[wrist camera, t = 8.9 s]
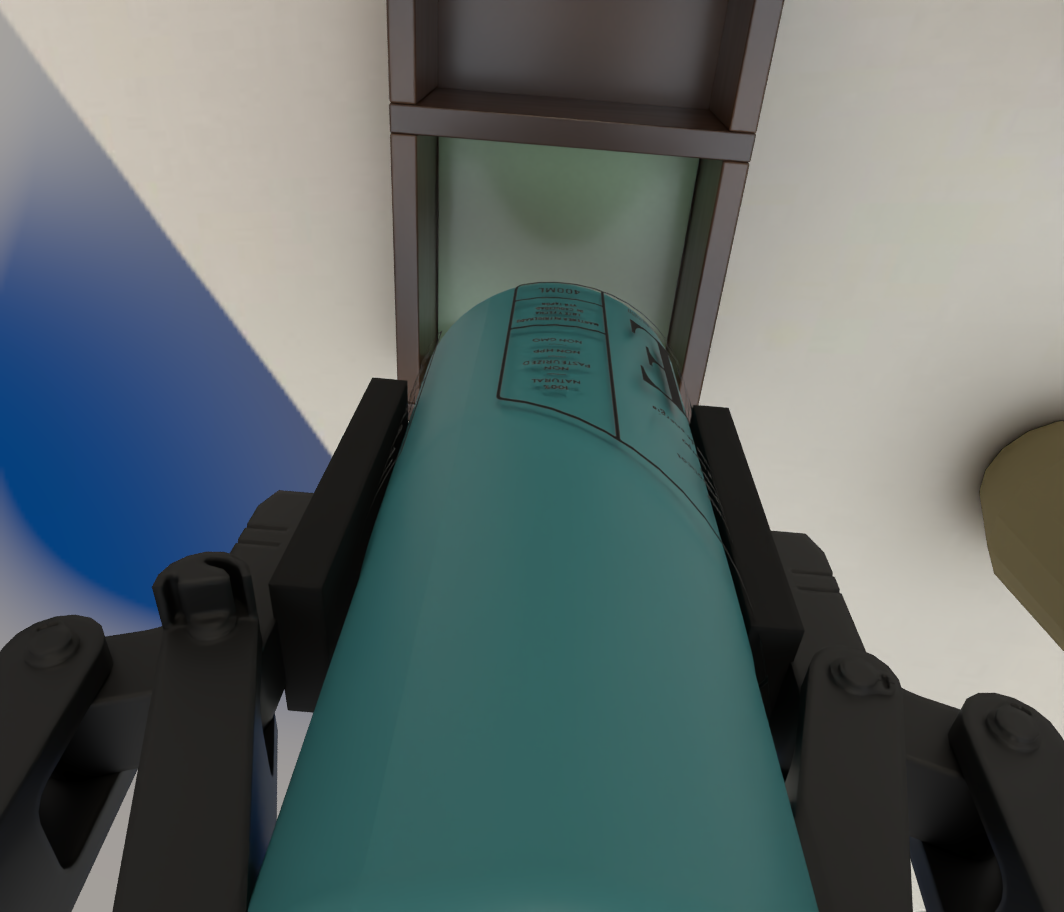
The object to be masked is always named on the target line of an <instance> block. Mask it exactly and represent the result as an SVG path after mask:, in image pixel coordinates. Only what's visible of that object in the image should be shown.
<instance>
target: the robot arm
mask: <svg viewBox="0 0 1064 912" xmlns="http://www.w3.org/2000/svg"><path fill="white" fill-rule="evenodd" d="M407 403H408V385H407V381H406V380H394V379H382V378H372V379H371V381H370V383H369V385H368V387H367V389H366V391H365V393H364V395H363V397H362V399H361V401H360V403H359V405H358V407H357V409H356V411H355V413H354V415H353V417H352V419H351V421H350V423H349V425H348V427H347V429H346V431H345V433H344V435H343V437H342V439H341V441H340V443H339V445H338V447H337V449H336V451H335V453H334V455H333V457H332V459H331V461H330V463H329V465H328V467H327V469H326V471H325V472H324V474H323V476H322V478H321V480H320V482H319V484H318V486H317V488H316V490H315V492H314V493H304V492H294V491H282V490H279V491H277V492H276V493H275V494H273V495H272V496H270V497H269V498H268V499H266V500H265V501H264V502H263V503H261V504H260V505H259V506H258V507H257V508H256V510H255V512H254V514H253V515H252V517H251V518H250V520H249V522H248V524H247V528H245V529H244V530H243V532H242V534H241V535H240V537H239V539H238V543H236V544H235V545H234V547H233V549H232V551H231V552H230V554H229V553H226V552H203V553H198V554H194V555H190V556H186V557H185V558H182V559H180V560H178V561H176V562H174V563H172V564H170V565H169V566H168V567H167V568H166V569H164V570H163V571H162V572H161V573H160V574H159V575H158V577H157V578H156V580H155V582H154V584H153V586H152V589H153V592H154V596H155V600H156V604H157V607H158V611H159V615H160V619H161V622H162V626H161V627H158V628H154V629H150V630H145V631H139V632H133V633H126V634H120V635H113V636H107V637H105V636H104V632H103V629H102V626H101V625H100V624H99V623H97V622H96V621H95V620H93V619H92V618H89V617H84V616H79V615H67V616H57V617H53V618H50V619H47V620H44V621H41V622H37V623H35V624H33V625H32V626H30V627H28V628H26V629H24V630H23V631H21V632H19V633H18V634H16V635H15V636H14V637H13V639H11V640H10V641H9V642H8V643H7V644H6V645H5V646H4V647H3V648H2V650H1V651H0V912H71V911H72V909H73V907H74V905H75V903H76V901H77V898H78V896H79V894H80V892H81V890H82V888H83V886H84V883H85V881H86V879H87V877H88V875H89V873H90V871H91V868H92V866H93V864H94V862H95V860H96V858H97V855H98V853H99V851H100V849H101V847H102V845H103V843H104V840H105V838H106V836H107V834H108V832H109V830H110V827H111V825H112V823H113V821H114V819H115V817H116V815H117V813H118V810H119V808H120V806H121V804H122V802H123V799H124V797H125V795H126V793H127V791H128V789H129V787H130V785H131V782H132V780H133V778H134V776H135V774H136V772H137V770H138V773H137V778H136V784H135V789H134V795H133V800H132V806H131V812H130V817H129V823H128V828H127V834H126V839H125V845H124V850H123V856H122V861H121V867H120V873H119V878H118V884H117V890H116V895H115V900H114V906H113V912H247V911H248V907H249V903H250V899H251V895H252V892H253V889H254V886H255V883H256V880H257V877H258V874H259V871H260V868H261V865H262V862H263V860H264V857H265V854H266V851H267V848H268V845H269V842H270V839H271V836H272V833H273V830H274V827H275V824H276V821H277V743H278V742H277V741H278V740H277V739H278V730H277V724H276V718H275V711H276V708H277V706H278V703H279V701H280V698H281V696H282V693H283V691H284V689H285V695H286V702H287V708H288V710H291V711H302V712H313V713H314V710H315V707H316V704H317V701H318V698H319V695H320V692H321V689H322V686H323V683H324V680H325V678H326V675H327V672H328V669H329V666H330V663H331V660H332V657H333V654H334V651H335V648H336V645H337V642H338V639H339V636H340V633H341V631H342V628H343V625H344V622H345V619H346V616H347V613H348V610H349V607H350V604H351V601H352V598H353V595H354V592H355V589H356V587H357V584H358V581H359V577H360V572H361V568H362V564H363V561H364V557H365V554H366V550H367V547H368V543H369V540H370V537H371V534H372V531H373V527H374V524H375V521H376V518H377V515H378V512H379V509H380V506H381V503H382V501H383V498H384V495H385V492H386V489H387V486H388V483H389V480H390V477H391V474H392V471H393V468H394V465H395V463H394V462H396V461H395V460H396V459H397V456H398V453H399V450H400V447H401V444H402V441H403V438H404V435H405V432H406V429H407V426H408V409H407V408H408V404H407ZM406 406H407V407H406ZM405 408H406V409H407V410H406V409H405ZM404 411H405V412H404ZM404 413H406V414H404ZM403 414H404V415H405V416H404V415H403ZM403 416H404V418H403ZM401 419H402V422H401ZM690 422H691V423H689V427H690V430H691V434H692V438H693V441H694V443H695V448H696V452H697V455H698V457H699V458H698V459H699V462H700V466H701V469H702V472H704V473H705V474H704V473H703V477H704V480H705V481H706V482H707V483H705V484H708V486H707V485H706V487H707V491H708V494H709V496H710V498H711V500H713V501H711V500H710V501H711V505H712V509H713V512H714V516H715V519H716V523H717V526H718V530H719V533H720V537H721V541H722V543H723V544H724V546H725V548H726V550H727V551H726V550H725V548H724V546H723V548H724V551H725V555H726V558H727V562H728V565H729V569H730V572H731V576H732V580H733V583H734V587H735V590H736V594H737V598H738V602H739V605H740V609H741V613H742V616H743V620H744V624H745V628H746V632H747V636H748V640H749V643H750V647H751V651H752V656H753V661H754V667H755V674H756V678H757V682H758V684H760V683H761V682H762V681H763V680H764V679H765V671H766V677H767V676H768V683H769V690H768V683H766V684H765V685H764V686H763V687H762V688H760V689H759V690H760V693H761V697H762V701H763V705H764V708H765V712H766V716H767V720H768V723H769V692H770V731H771V734H772V738H773V742H774V746H775V749H776V753H777V757H778V761H779V764H780V768H781V772H782V776H783V779H784V783H785V787H786V791H787V794H788V798H789V802H790V806H791V809H792V813H793V817H794V821H795V824H796V828H797V832H798V835H799V839H800V843H801V847H802V850H803V854H804V858H805V862H806V865H807V869H808V873H809V877H810V880H811V884H812V888H813V892H814V895H815V899H816V903H817V907H818V910H819V912H913V906H912V884H911V862H912V865H913V869H914V872H915V875H916V879H917V882H918V885H919V889H920V892H921V895H922V899H923V902H924V905H925V909H926V912H1064V740H1063V738H1062V737H1061V735H1060V734H1059V733H1058V731H1057V730H1056V729H1055V727H1054V726H1053V725H1052V724H1051V722H1050V721H1049V720H1047V719H1046V718H1045V717H1044V716H1042V715H1041V714H1040V713H1039V712H1037V711H1036V710H1035V709H1034V708H1032V707H1030V706H1028V705H1026V704H1024V703H1022V702H1020V701H1019V700H1017V699H1015V698H1012V697H1008V696H1004V695H1001V694H997V693H977V694H975V695H973V696H971V697H969V698H967V699H966V701H965V703H964V704H963V706H962V708H961V710H960V709H957V708H954V707H951V706H948V705H945V704H942V703H939V702H936V701H933V700H930V699H927V698H924V697H921V696H919V695H916V694H914V693H911V692H909V691H907V690H905V689H903V688H901V685H900V682H899V679H898V678H897V677H896V675H895V674H894V673H893V672H892V670H891V669H890V668H889V666H887V665H886V664H885V663H883V662H882V661H880V660H879V659H878V658H876V657H875V656H874V655H872V654H869V653H867V652H866V651H865V648H864V646H863V643H862V641H861V639H860V636H859V634H858V632H857V629H856V627H855V624H854V622H853V620H852V617H851V615H850V613H849V610H848V608H847V606H846V603H845V601H844V598H843V596H842V594H841V593H839V590H840V589H839V587H838V584H837V582H836V579H835V577H833V576H832V574H833V572H832V570H831V568H830V565H829V563H828V560H827V558H826V556H825V553H824V552H823V551H822V550H821V549H820V548H819V547H818V546H817V545H816V544H815V543H814V542H813V541H812V540H811V539H810V538H809V537H808V536H807V535H806V534H803V533H791V532H780V531H771V530H770V527H769V525H768V522H767V519H766V516H765V513H764V510H763V507H762V504H761V501H760V498H759V495H758V492H757V489H756V487H755V484H754V481H753V478H752V475H751V472H750V469H749V466H748V463H747V460H746V457H745V454H744V452H743V449H742V446H741V443H740V440H739V437H738V434H737V431H736V428H735V425H734V422H733V419H732V417H731V414H730V411H729V408H723V407H712V406H700V405H693V409H692V414H691V419H690ZM401 425H402V426H403V427H402V426H401ZM399 426H400V427H401V428H402V429H401V428H400V427H399ZM398 428H399V429H400V430H399V429H398ZM398 430H399V431H398ZM397 431H398V433H399V434H398V433H397ZM396 434H398V436H397V438H396V439H395V437H396ZM697 447H698V448H697ZM394 448H395V450H394ZM392 449H393V450H394V452H393V450H392ZM698 449H699V451H700V452H699V451H698ZM391 450H392V451H391ZM390 451H391V453H390ZM389 453H390V455H391V454H392V455H391V457H390V458H389ZM701 454H702V455H701ZM702 456H703V457H704V458H703V457H702ZM388 459H389V460H388ZM700 459H701V460H700ZM387 460H388V462H387ZM391 460H392V461H391ZM704 460H706V461H704ZM701 461H702V462H701ZM386 462H387V463H386ZM706 462H707V463H706ZM389 463H390V464H389ZM393 463H394V464H393ZM702 463H703V464H702ZM388 465H389V466H388ZM392 465H393V466H392ZM385 466H386V467H385ZM391 466H392V467H391ZM708 466H709V467H708ZM384 467H385V468H384ZM386 468H387V469H386ZM390 468H391V469H390ZM705 468H706V469H705ZM389 469H390V470H389ZM709 469H710V470H709ZM383 471H384V472H383ZM388 471H389V472H388ZM708 472H709V473H710V474H708ZM387 473H388V474H387ZM382 474H384V475H382ZM386 475H387V476H386ZM705 475H706V477H707V478H708V479H707V478H706V477H705ZM709 475H711V477H709ZM381 476H382V477H381ZM712 476H713V477H712ZM385 477H386V478H385ZM384 478H385V479H384ZM711 478H712V479H711ZM380 480H381V481H380ZM383 480H384V481H383ZM708 480H709V482H708ZM382 482H383V483H382ZM713 482H714V483H713ZM379 483H380V485H379ZM710 483H711V484H712V485H711V484H710ZM381 484H382V485H381ZM714 485H715V486H714ZM380 486H381V487H380ZM712 486H713V487H714V489H713V488H712ZM377 487H378V488H377ZM708 487H710V488H711V489H710V488H708ZM379 488H380V489H379ZM378 490H379V491H378ZM709 490H710V491H709ZM711 490H712V492H711ZM714 490H715V491H716V492H715V491H714ZM377 492H378V493H377ZM375 493H377V494H375ZM713 493H714V494H713ZM716 494H717V495H716ZM714 495H715V496H718V497H716V498H715V497H714ZM374 497H375V499H374ZM718 498H719V500H718V502H719V501H720V503H721V504H720V503H718V502H717V500H716V499H718ZM373 501H374V502H373ZM372 503H373V504H372ZM713 503H715V504H714V505H715V506H716V507H715V506H714V505H713ZM720 506H722V507H720ZM370 508H371V509H370ZM716 508H718V510H717V509H716ZM722 508H723V509H722ZM721 509H722V510H721ZM719 511H720V513H721V515H720V513H719ZM368 513H369V514H368ZM723 514H724V515H725V516H724V515H723ZM366 518H367V519H366ZM723 518H724V520H725V521H724V520H723ZM725 523H726V524H725ZM364 524H365V525H364ZM727 525H728V526H727ZM727 528H728V529H727ZM362 531H363V532H362ZM729 533H730V534H729ZM360 538H361V539H360ZM359 542H360V543H359ZM732 542H733V543H732ZM358 545H359V546H358ZM727 552H728V553H729V555H730V557H731V559H732V561H733V563H734V565H735V567H736V568H737V570H738V572H739V574H740V576H739V574H738V572H737V570H736V568H735V567H734V565H733V563H732V561H731V559H730V557H729V555H728V553H727ZM740 577H741V578H740ZM741 579H742V580H741ZM742 582H743V583H742ZM744 587H745V588H744ZM745 590H746V591H745ZM746 593H747V594H746ZM747 595H748V596H747ZM748 598H749V599H748ZM749 601H750V602H749ZM750 603H751V604H750ZM751 606H752V607H751ZM752 609H753V610H752ZM760 640H761V641H760ZM761 644H762V647H761ZM762 650H763V654H762ZM763 657H764V661H763ZM764 664H765V668H764ZM910 859H911V862H910Z"/></svg>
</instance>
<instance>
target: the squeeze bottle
mask: <svg viewBox="0 0 1064 912" xmlns="http://www.w3.org/2000/svg"><path fill="white" fill-rule="evenodd" d="M979 494H980V500H981V507H982V513H983V520H984V527H985V533H986V540H987V546H988V551H989V555H990V559H991V563H992V567H993V571H994V574H995V575H996V576H997V577H998V578H999V579H1000V581H1001V582H1002V583H1003V584H1004V585H1005V586H1006V587H1007V588H1008V590H1009V591H1010V592H1011V593H1012V594H1013V595H1014V596H1015V597H1016V598H1017V600H1018V601H1019V602H1020V603H1021V604H1022V605H1023V606H1024V607H1025V609H1026V610H1027V611H1028V612H1029V613H1030V614H1031V615H1032V616H1033V618H1034V619H1035V620H1036V621H1037V622H1038V623H1039V624H1040V625H1041V626H1042V628H1043V629H1044V630H1045V631H1046V632H1047V633H1048V634H1049V635H1050V637H1051V638H1052V639H1053V640H1054V641H1055V642H1056V643H1057V644H1058V646H1059V647H1060V648H1061V649H1062V650H1063V651H1064V421H1058V422H1055V423H1052V424H1049V425H1046V426H1043V427H1040V428H1037V429H1034V430H1031V431H1028V432H1027V433H1025V434H1024V435H1022V436H1021V437H1019V438H1018V439H1016V440H1015V441H1013V442H1012V443H1010V444H1009V445H1007V446H1006V447H1005V448H1003V449H1002V450H1001V451H1000V453H999V454H998V455H997V456H996V458H995V459H994V460H993V461H992V463H991V464H990V465H989V466H988V468H987V469H986V470H985V474H984V477H983V481H982V484H981V488H980V491H979Z"/></svg>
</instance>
